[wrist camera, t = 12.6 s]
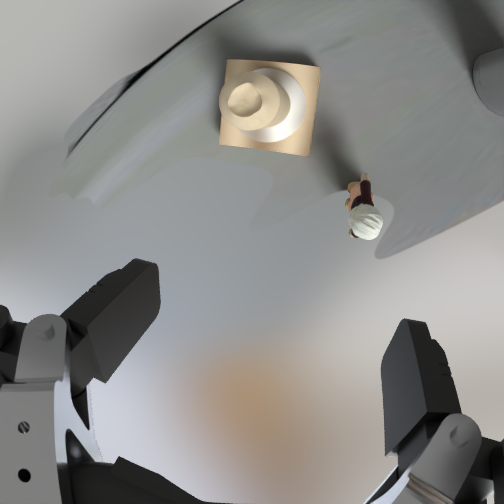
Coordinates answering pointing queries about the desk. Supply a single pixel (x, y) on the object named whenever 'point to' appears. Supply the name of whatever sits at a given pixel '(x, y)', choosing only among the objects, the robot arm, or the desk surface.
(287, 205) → the desk surface
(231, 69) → the candle stand
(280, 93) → the candle
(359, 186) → the grandmother figurine
